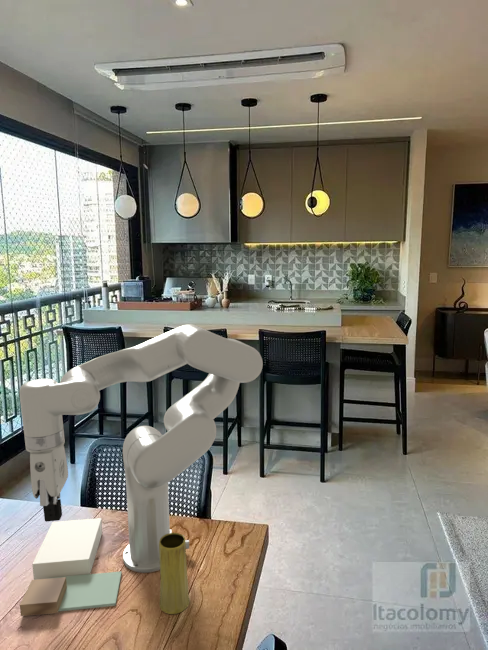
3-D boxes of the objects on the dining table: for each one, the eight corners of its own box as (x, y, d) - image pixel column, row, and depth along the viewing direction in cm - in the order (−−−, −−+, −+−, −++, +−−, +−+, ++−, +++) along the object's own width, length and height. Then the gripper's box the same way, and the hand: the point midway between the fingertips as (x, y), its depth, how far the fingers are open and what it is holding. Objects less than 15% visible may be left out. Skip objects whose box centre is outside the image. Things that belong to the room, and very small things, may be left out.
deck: (102, 532, 119) (101, 518, 118) (89, 575, 103) (88, 559, 103) (53, 536, 117) (52, 521, 117) (33, 580, 102) (32, 564, 101)
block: (56, 601, 91) (57, 612, 92) (66, 577, 98) (66, 587, 99) (19, 604, 91) (20, 616, 91) (31, 579, 98) (32, 590, 98)
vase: (164, 591, 98) (162, 530, 96) (192, 593, 98) (191, 532, 95) (155, 613, 92) (152, 548, 90) (185, 616, 92) (183, 551, 89)
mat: (121, 573, 104) (121, 571, 104) (115, 605, 94) (115, 603, 94) (47, 580, 102) (47, 578, 102) (33, 614, 92) (33, 611, 92)
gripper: (53, 452, 89) (62, 538, 92) (72, 423, 104) (79, 498, 107) (13, 456, 88) (23, 542, 91) (37, 426, 103) (45, 501, 106)
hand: (53, 518), depth 99 cm, fingers closed
